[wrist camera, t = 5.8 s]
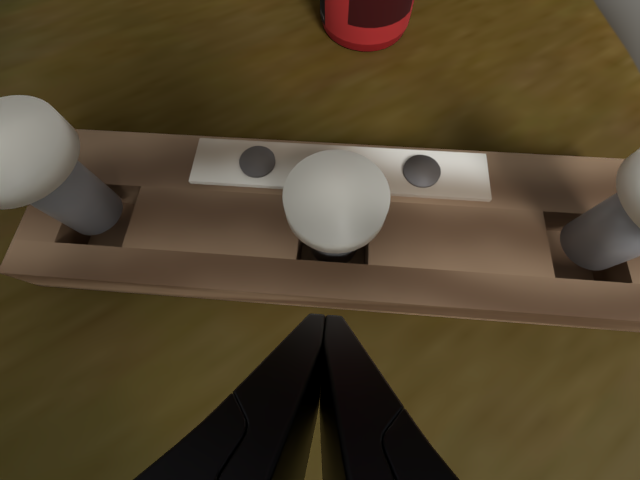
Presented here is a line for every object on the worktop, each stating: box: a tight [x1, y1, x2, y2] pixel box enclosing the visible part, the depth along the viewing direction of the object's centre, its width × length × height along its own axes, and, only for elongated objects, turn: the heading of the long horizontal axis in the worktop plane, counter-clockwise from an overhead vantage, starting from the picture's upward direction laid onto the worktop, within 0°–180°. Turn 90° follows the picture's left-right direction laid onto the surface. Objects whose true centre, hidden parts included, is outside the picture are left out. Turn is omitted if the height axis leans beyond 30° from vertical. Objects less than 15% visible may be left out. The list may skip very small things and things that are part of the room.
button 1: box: [560, 148, 640, 271], centre depth 15 cm, size 5×5×6 cm
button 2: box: [0, 95, 123, 235], centre depth 17 cm, size 5×5×6 cm
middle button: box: [282, 150, 391, 263], centre depth 19 cm, size 5×5×6 cm
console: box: [0, 129, 640, 332], centre depth 21 cm, size 10×37×4 cm, turn 85°
